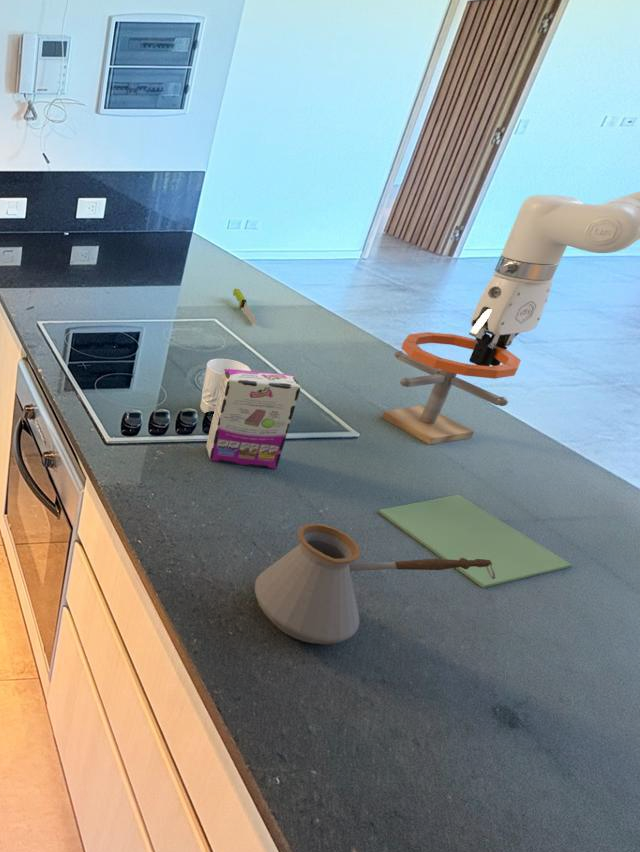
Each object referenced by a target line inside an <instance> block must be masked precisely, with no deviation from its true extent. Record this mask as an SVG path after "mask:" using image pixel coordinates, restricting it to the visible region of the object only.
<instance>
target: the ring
mask: <svg viewBox="0 0 640 852" xmlns="http://www.w3.org/2000/svg"><path fill="white" fill-rule="evenodd" d="M475 340H476V338H473V337H467V336H463V335H457V334H453V333H441V332H431V331H430V332H429V331H425V332H424V331H423V332H418V333H410V334H408V335H407V336H406V338H405V339H404V340H403V342H402V344H401V351H402V352H404V354H406V355H408V356H409V357H410V358H412V359H415V360H417V361H419V362H422V363H424V364H426V365H428V366H431V367H433V368H436V369H439V370H444V371H448V372H452V373H456V374H457V375H460V376H463V377H474V378H485V379H493V380H494V379H495V380H496V379H500V378H501V379H502V378H509V377H515V375H516V373H517V371H518V369H519V366H520V364H521V361H522V360H521V359H520V358H519V357H517V356H516V355H515V354H513V352H511V351H509V350H508V349H503V348H500V347H498V346H495V347H494V348H497V350H496V353H495V355H494V358H496V359H497V360H498V361H500V362H501V363H500V365H497V366H492V365H490V366H482V365H476V364H472V363H471V364H470V363H464V362H460V361H456V360H452V359H447V358H444V357H441V356H438V355H435V354H433V353H431V352H428V351H426V350H423V349H422V348H421V347H420V346H419V345H425V344H439V345H451V346H455V347H459V348H464V349H468V350H472V351H473V350H474V348H475V345H476V343H475Z"/></svg>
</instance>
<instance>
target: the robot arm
mask: <svg viewBox="0 0 640 852" xmlns="http://www.w3.org/2000/svg"><path fill="white" fill-rule="evenodd" d="M639 240H640V191H637V192H633V193H630V194H627V195H622V196H620V197H616V198H614V199H610V200H608V201H604V202H603V203H599V204H593V203H592V204H590V203H588V204H587V203H584V202H583V201H582V200H580V199H578V198H576V197H572V196H565V195H558V194H535V195H534V194H533V195H531V196H529V197H527V198H525V200H523V202H522V203H521V206H520V207H519V210H518V212H517V214H516V216H515V219H514V222H513V224H512V227H511V230H510V232H509V234H508V237H507V239H506V241H505V244H504V247H503V249H502V251H501V254H500V256H499V259H498V260H497V263H496V264H495V265H496V266H495V268H494V270H493V275H492V277H491V278H490V280H489V281H488V283H487V285H486V287H485V288H484V290H483V291H482V294H481V295H480V298H479V299H478V301H477V304H476V306H475V308H474V310H473V313H472V316H471V320H470V325H471V327H472V328H471V329H470V331H469V333H468V335H469V336H471V337H474V339H476V340H475V343H476V345H475V348H474V350H472V352H471V355H470V357H469V360H468V361H469V362H470V363H471V364H473V365H482V366H497V365H501V364H502V363H501V362H500V361H498V360H497V359H496V358H494V355H495V353H496V350H497V348H494V347H495V346H498V347H500V348H503V349H506V350H508V347H509V346H511V345H512V343H513V342H514V338H516V337H517V336H518V335H519V334H521V333H527V332H530V331H534V330H535V329H536V328H537V326H538V325H539V322H540V320H541V317H542V315H543V313H544V310H545V307H546V305H547V302H548V299H549V296H550V293H551V288H552V284H553V278H554V275H555V273H556V271H557V269H558V267H559V265H560V262H561V260H562V258H563V255H564V253H565V252H566V249H567V248H568V247H571V248H574V249H577V250H581V251H585V252H590V253H595V254H610V253H611V254H612V253H616V252H619V251H623V250H625V249H627V248H629V247H630V246H632V245H633V244H635V243H636V242H638V241H639Z"/></svg>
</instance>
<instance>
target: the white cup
mask: <svg viewBox="0 0 640 852" xmlns="http://www.w3.org/2000/svg"><path fill="white" fill-rule="evenodd" d="M224 369H233V370H244V371H252V369H251V368H250V367H249V366H248V365H247V364H245V363H243V362H241V361H238V360H233V359H230V358H229V359H228V358H213V359H210V360H208V361H207V363H206V368H205V373H204V379H203V383H202V390H201V391H202V392H201V400H200V405H199V408H200V411H201V412H202V413H204V414H205V413H206V412H209V411H214V409H215V405H216V401H217V397H218V392H219V388H220V384H221V379H222V374H223V370H224Z"/></svg>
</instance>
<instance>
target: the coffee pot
mask: <svg viewBox="0 0 640 852" xmlns="http://www.w3.org/2000/svg"><path fill="white" fill-rule="evenodd" d="M297 538H298V540H299V541H298V542H300V544H298V545H296V546H295V547H294V548H293V549H291V550H290V551H289V552H287V553H285V555H283V556H282V557H280V558H279V559H278V560H277V561H275V562H274V563H272V564H271V565H270V566H269V567H267V568H265V570H264V571H261V572H260V574H259V575H258V576H257V578H256V579H255V581H254V593H255V597H256V600H257V603H258V606H259V607H260V609H261V610H262V612H263V614H264V615H265V616H266V617H267V618H268V619H269V620H270V621H271V622H272V624H274V625H275V627H277V628H278V629H279V631H282V633H284V634H285V635H288V636H289V637H292V638H293V639H296V640H298V641H301V642H304V643H311V644H318V645H334V644H335V645H336V644H338V643H342V642H344V641H346V640H349V639H350V638H351V637H352V636H354V635H355V634H356V633H357V631H358V629H359V626H360V616H359V615H360V614H359V610H358V609H359V608H358V603H357V599H356V594H355V589H354V583H353V578H352V574H351V573H352V572H357V571H358V572H359V571H360V572H361V571H381V570H400V571H401V570H405V571H406V570H407V571H410V570H412V571H414V570H415V571H444V570H451V569H456V568H458V567H462V568H463V569H468V568H469V567H473V566H477V567H486V569H487V571H488V573H489V575H490V577H491V578H492V579H495V573H494V570H493V568H492V566H491V565H492V563H491V561H490V560H485V559H475V560H467V559H465V558H460V559H459V560H449V559H442V558H437V557H435V558H425V559H424V558H423V559H411V560H398V561H385V562H384V561H381V562H380V561H377V562H376V561H375V562H370V561H369V562H367V561H366V562H356V561H357V560H359V559H360V556H361V548H360V546H359V544H358V542H356V540H355V539H354V538H353V537H351V536H350V535H349V534H347V533H345V531H342V530H340V529H339V528H336V527H333V526H331V525H327V524H323V523H307V524H303V525H302V526H300V527H299V529H298V530H297ZM488 566H490V568H491V571H492V574H493V576H492V575H491V573H490V571H489V568H488Z"/></svg>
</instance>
